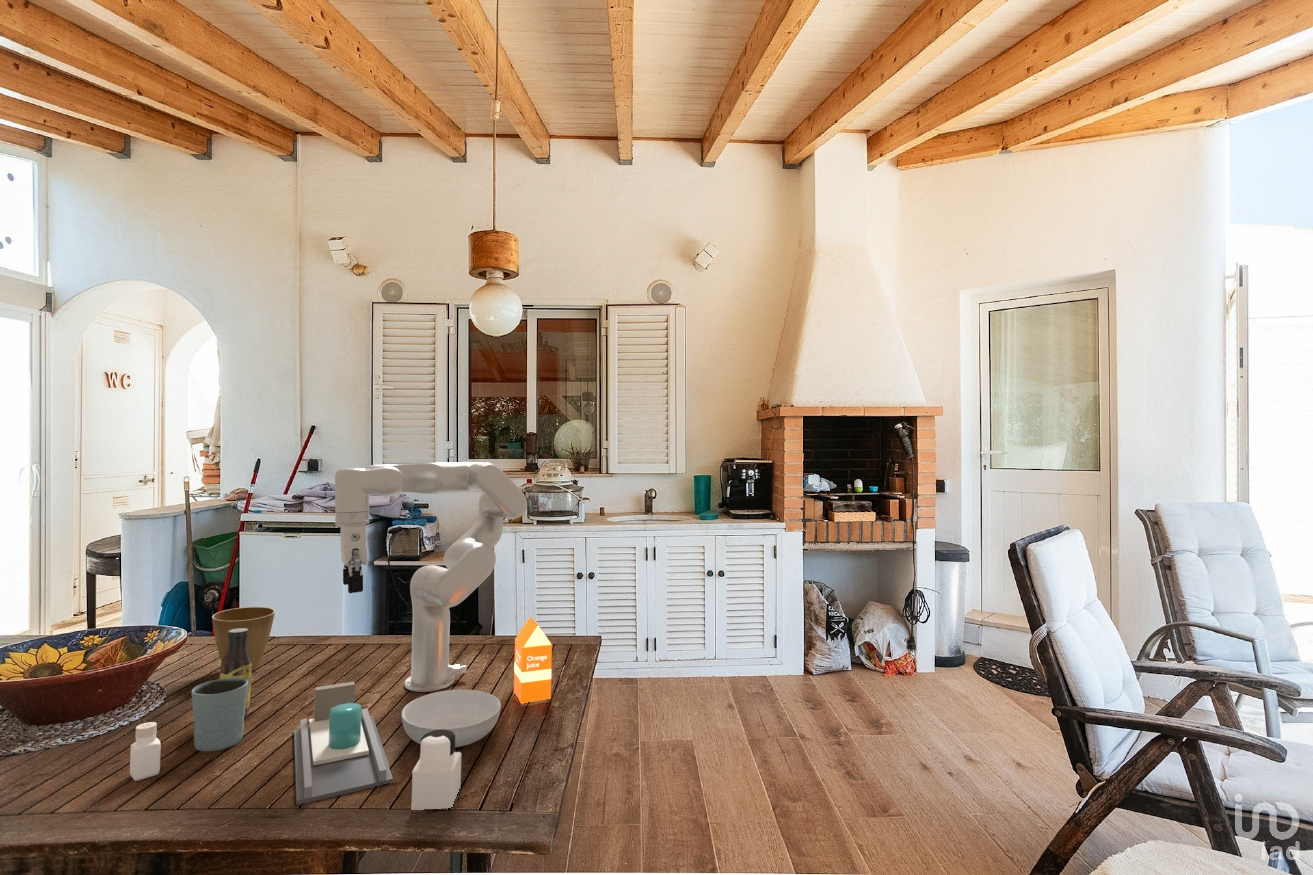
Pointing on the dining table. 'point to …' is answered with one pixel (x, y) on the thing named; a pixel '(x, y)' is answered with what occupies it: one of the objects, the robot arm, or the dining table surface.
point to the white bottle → (436, 772)
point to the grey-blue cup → (219, 713)
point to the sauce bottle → (238, 660)
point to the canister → (344, 726)
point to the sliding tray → (320, 724)
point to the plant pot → (248, 617)
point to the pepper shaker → (145, 752)
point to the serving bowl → (452, 715)
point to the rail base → (339, 766)
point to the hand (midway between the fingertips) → (352, 587)
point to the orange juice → (532, 664)
